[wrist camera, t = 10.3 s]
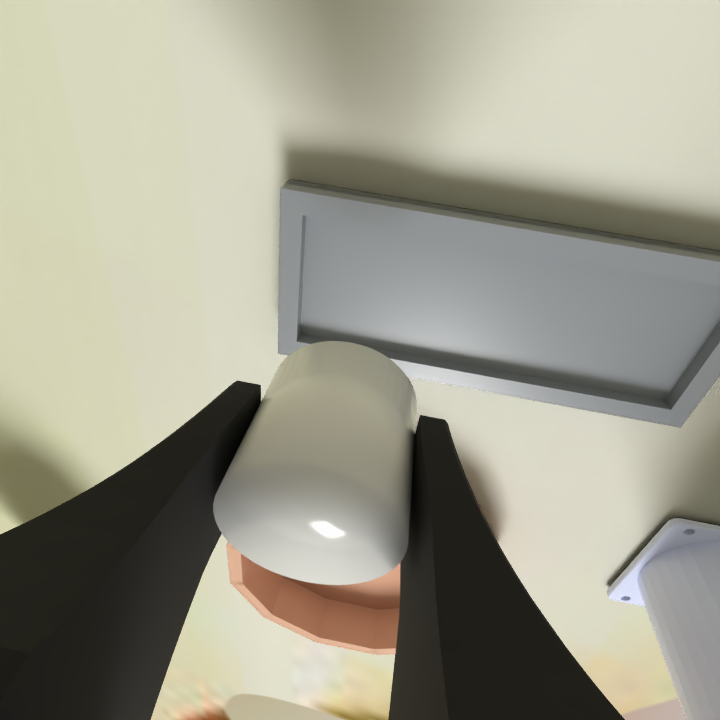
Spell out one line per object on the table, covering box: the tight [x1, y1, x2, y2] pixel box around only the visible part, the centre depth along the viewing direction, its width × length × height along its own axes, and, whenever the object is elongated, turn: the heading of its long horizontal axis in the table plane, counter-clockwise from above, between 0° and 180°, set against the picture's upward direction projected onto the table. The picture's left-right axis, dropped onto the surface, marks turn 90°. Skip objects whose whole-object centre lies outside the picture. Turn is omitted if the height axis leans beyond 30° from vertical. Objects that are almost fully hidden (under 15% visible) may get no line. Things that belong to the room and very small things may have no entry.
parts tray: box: [278, 179, 720, 428], centre depth 18 cm, size 17×7×1 cm, turn 83°
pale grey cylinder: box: [213, 341, 417, 585], centre depth 11 cm, size 4×4×4 cm
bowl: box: [227, 504, 484, 655], centre depth 28 cm, size 16×16×3 cm
